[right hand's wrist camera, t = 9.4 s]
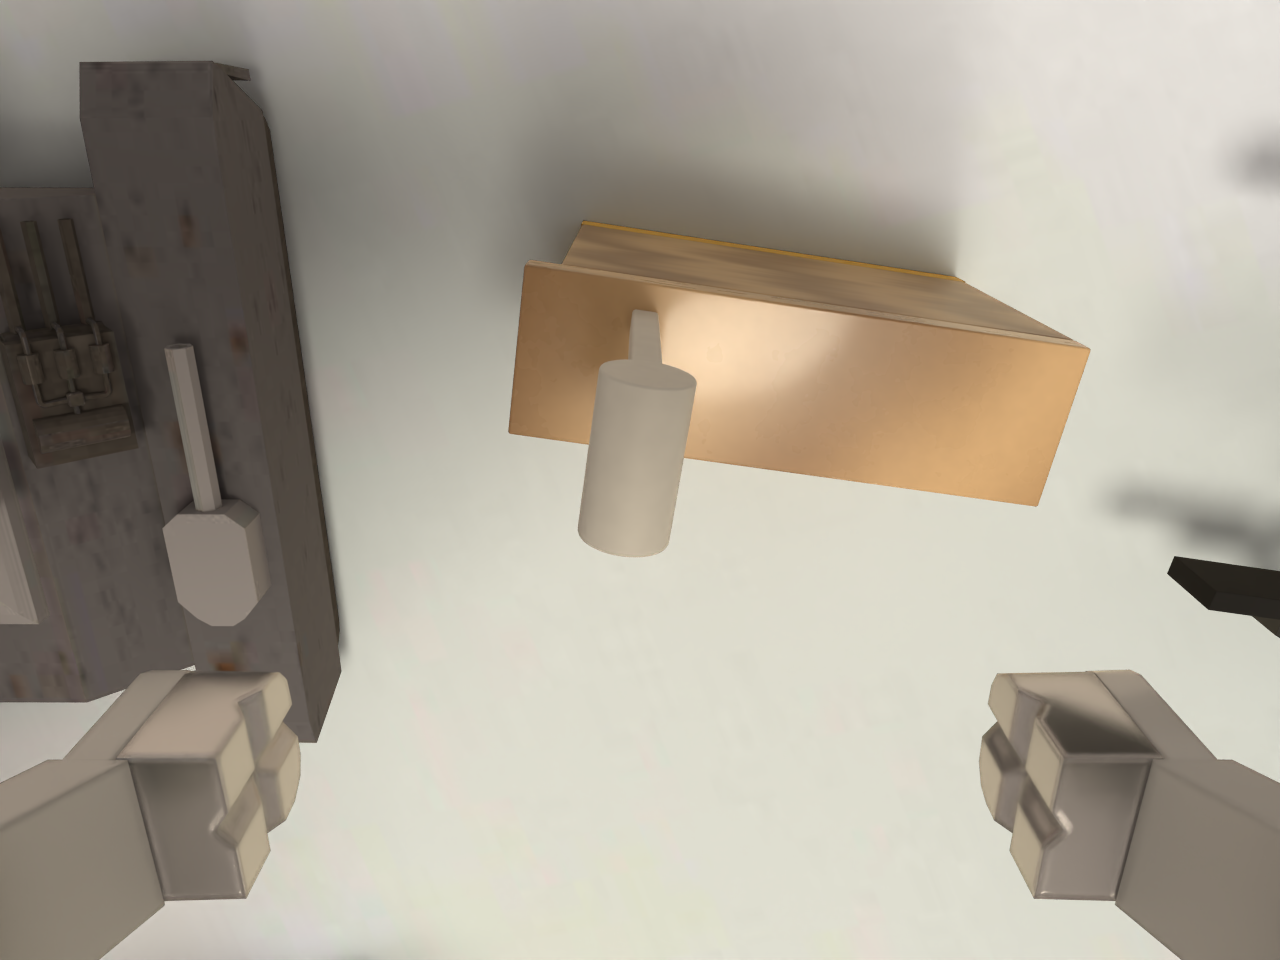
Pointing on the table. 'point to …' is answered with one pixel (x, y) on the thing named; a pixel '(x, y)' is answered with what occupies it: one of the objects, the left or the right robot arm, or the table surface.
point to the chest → (793, 276)
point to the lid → (774, 395)
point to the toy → (158, 408)
